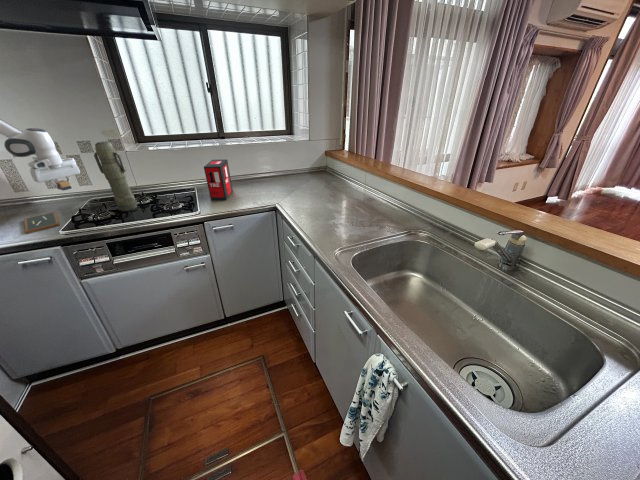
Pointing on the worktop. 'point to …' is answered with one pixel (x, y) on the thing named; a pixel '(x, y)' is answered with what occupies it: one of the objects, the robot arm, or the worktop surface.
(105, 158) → the thermos
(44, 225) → the board
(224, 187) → the cleaning product box
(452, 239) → the worktop surface
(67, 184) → the eraser
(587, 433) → the worktop surface
